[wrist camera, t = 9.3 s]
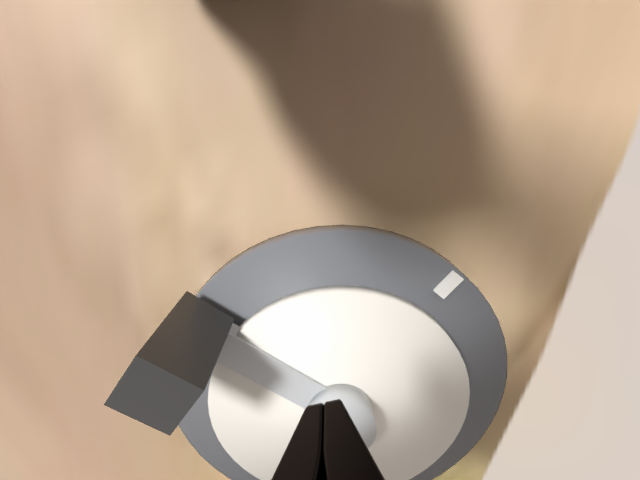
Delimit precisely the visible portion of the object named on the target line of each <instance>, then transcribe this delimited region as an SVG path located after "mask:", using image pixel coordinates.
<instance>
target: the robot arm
mask: <svg viewBox="0 0 640 480" xmlns="http://www.w3.org/2000/svg"><path fill="white" fill-rule="evenodd" d="M271 480H385V479H384V477H383V475H382V473H381V472H380V470H379V468H378V466H377V464H376V462H375V461H374V459H373V457H372V455H371V453H370V451H369V450H368V448H367V446H366V444H365V442H364V440H363V439H362V437H361V435H360V433H359V431H358V429H357V428H356V426H355V424H354V422H353V420H352V419H351V417H350V415H349V413H348V411H347V409H346V408H345V406H344V404H343V402H342V401H341V400H340V399H336V400H331V401H327V402H325V404H323V403H317V404H312V405H308V406H307V407H306V408H305V410H304V412H303V414H302V416H301V419H300V421H299V423H298V425H297V427H296V429H295V431H294V433H293V435H292V437H291V439H290V442H289V444H288V446H287V448H286V450H285V452H284V454H283V456H282V458H281V460H280V463H279V465H278V467H277V469H276V471H275V473H274V475H273V477H272V479H271Z"/></svg>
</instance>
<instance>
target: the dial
mask: <svg viewBox="0 0 640 480" xmlns="http://www.w3.org/2000/svg"><path fill="white" fill-rule="evenodd" d="M233 321H234V318H233V317H231V316H229V315H227V314H226V313H224V312H222V311H220V310H219V309H217V308H215V307H213V306H212V305H210V304H208V303H207V302H205V301H203V300H201V299H200V298H198V297H196V296H194V295H193V294H191V293H189V292H188V291H187V292H186V293H185V294H184V295H183V297H182V298H181V299H180V300H179V302H178V303H177V304H176V306H175V307H174V308H173V309H172V311H171V312H170V313H169V314H168V316H167V317H166V318H165V319H164V321H163V322H162V323H161V324H160V326H159V327H158V328H157V330H156V331H155V332H154V333H153V335H152V336H151V337H150V338H149V340H148V341H147V342H146V343H145V345H144V346H143V347H142V349H141V350H140V351H139V352H138V354H137V355H136V356H135V358H134V359H133V361H132V362H131V364H130V365H129V367H128V368H127V370H126V372H125V373H124V375H123V376H122V378H121V379H120V381H119V382H118V384H117V385H116V387H115V388H114V390H113V391H112V393H111V395H110V396H109V398H108V399H107V401H106V402H105V404H104V405H105V406H108V407H110V408H112V409H114V410H116V411H118V412H120V413H123V414H125V415H127V416H129V417H131V418H133V419H135V420H138V421H140V422H142V423H144V424H146V425H148V426H150V427H153V428H155V429H157V430H159V431H161V432H163V433H165V434H168V435H171V434H172V432H173V431H174V430H175V428H176V427H177V426H178V424H179V423H180V422H181V421H182V419H183V418H184V417H185V415H186V414H187V413H188V411H189V410H190V409H191V408H192V406H193V405H194V404H195V402H196V401H197V400H198V398H199V397H200V396H201V394H202V393H203V392H204V391H205V388H206V386H207V383H208V381H209V379H210V376H211V374H212V376H211V380H210V384H209V391H208V409H209V416H210V420H211V423H212V427H213V429H214V431H215V434H216V436H217V438H218V440H219V441H220V443H221V445H222V446H223V448H224V449H225V451H226V452H227V453H228V454H229V455H230V456H231V457H232V459H233V460H234V461H235V462H236V463H238V464H239V465H240V466H241V467H242V468H243V469H244V470H246V471H247V472H249V473H250V474H252V475H253V476H255V477H256V478H258V479H260V480H271V479H272V477H273V475H274V473H275V471H276V469H277V467H278V465H279V463H280V460H281V458H282V456H283V454H284V452H285V450H286V448H287V446H288V444H289V442H290V439H291V437H292V435H293V433H294V431H295V429H296V427H297V425H298V423H299V421H300V419H301V416H302V414H303V412H304V410H305V408H306V407H307V406H308V405H312V404H317V403H323V404H325V402H327V401H331V400H336V399H340V400H341V401H342V402H343V404H344V406H345V408H346V409H347V411H348V413H349V415H350V417H351V419H352V420H353V422H354V424H355V426H356V428H357V429H358V431H359V433H360V435H361V437H362V439H363V440H364V442H365V444H366V446H367V448H368V450H369V451H370V453H371V455H372V457H373V459H374V461H375V462H376V464H377V466H378V468H379V470H380V472H381V473H382V475H383V477H384V479H385V480H409V479H411V478H413V477H415V476H416V475H418V474H419V473H421V472H423V471H424V470H425V469H427V468H428V467H429V466H431V465H432V464H433V463H434V462H436V461H437V460H438V459H439V458H440V457H441V456H442V455H443V454H444V453H445V452H446V450H447V449H448V448H449V447H450V445H451V444H452V443H453V442H454V440H455V438H456V437H457V435H458V433H459V432H460V430H461V428H462V425H463V423H464V420H465V418H466V414H467V410H468V406H469V396H470V387H469V377H468V374H467V370H466V366H465V363H464V361H463V359H462V357H461V355H460V352H459V351H458V349H457V348H456V346H455V345H454V343H453V342H452V340H451V339H450V337H449V336H448V334H447V333H446V331H445V330H444V328H443V327H442V326H441V325H440V324H439V323H438V322H437V321H436V320H435V319H434V318H433V317H432V316H431V315H429V314H428V313H427V312H426V311H424V310H423V309H422V308H420V307H419V306H417V305H415V304H413V303H412V302H410V301H408V300H406V299H404V298H402V297H399V296H397V295H394V294H392V293H389V292H385V291H382V290H378V289H374V288H368V287H361V286H347V285H334V286H323V287H316V288H311V289H307V290H302V291H298V292H296V293H293V294H290V295H287V296H284V297H282V298H280V299H278V300H275V301H273V302H271V303H269V304H267V305H266V306H264V307H263V308H261V309H260V310H258V311H257V312H255V313H254V314H252V315H251V316H250V317H249V318H248V319H247V320H245V321H244V322H243V323H242V324H241V325H240V326H238V325H236V324H234V323H233ZM216 362H217V363H216ZM215 364H216V366H215ZM214 367H215V368H214ZM213 369H214V370H213ZM212 371H213V373H212Z"/></svg>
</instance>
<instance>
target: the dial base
mask: <svg viewBox="0 0 640 480" xmlns="http://www.w3.org/2000/svg"><path fill="white" fill-rule="evenodd" d="M334 285H347V286H361V287H368V288H374V289H378V290H382V291H385V292H389V293H392V294H394V295H397V296H399V297H402V298H404V299H406V300H408V301H410V302H412V303H413V304H415V305H417V306H419V307H420V308H422V309H423V310H424V311H426V312H427V313H428V314H429V315H431V316H432V317H433V318H434V319H435V320H436V321H437V322H438V323H439V324H440V325H441V326H442V327H443V328H444V330H445V331H446V333H447V334H448V336H449V337H450V339H451V340H452V342H453V343H454V345H455V346H456V348H457V349H458V351H459V352H460V355H461V357H462V359H463V361H464V363H465V366H466V370H467V374H468V377H469V387H470V396H469V406H468V410H467V414H466V418H465V420H464V423H463V425H462V428H461V430H460V432H459V433H458V435H457V437H456V438H455V440H454V442H453V443H452V444H451V445H450V447H449V448H448V449H447V450H446V452H445V453H444V454H443V455H442V456H441V457H440V458H439V459H438V460H437V461H436V462H434V463H433V464H432V465H431V466H429V467H428V468H427V469H425V470H424V471H423V472H421V473H419V474H418V475H416V476H415V477H413V478H411V479H409V480H432V479H434V478H435V477H437V476H439V475H441V474H442V473H443V472H445V471H446V470H448V469H449V468H450V467H452V466H453V465H455V464H456V463H457V462H458V461H459V460H460V459H461V458H463V457H464V456H465V455H466V454H467V453H468V452H469V451H470V450H471V449H472V448H473V447H474V445H475V444H476V443H477V442H478V441H479V440H480V439H481V437H482V436H483V434H484V433H485V431H486V430H487V428H488V427H489V425H490V424H491V422H492V420H493V418H494V416H495V414H496V412H497V410H498V408H499V405H500V402H501V399H502V396H503V393H504V388H505V382H506V377H507V353H506V346H505V340H504V336H503V333H502V330H501V327H500V324H499V321H498V319H497V317H496V315H495V314H494V312H493V310H492V308H491V306H490V304H489V303H488V301H487V300H486V299H485V297H484V296H483V295H482V293H481V292H480V291H479V290H478V288H477V287H476V286H475V285H474V284H473V283H472V282H471V281H470V280H469V279H468V278H467V277H466V276H465V275H464V274H462V273H461V272H460V271H459V270H458V269H457V268H456V267H455V266H454V265H453V264H452V263H451V262H450V261H448V260H447V259H446V258H444V257H443V256H441V255H440V254H438V253H437V252H435V251H434V250H433V249H431V248H429V247H427V246H425V245H423V244H421V243H419V242H417V241H415V240H413V239H411V238H408V237H405V236H402V235H399V234H396V233H393V232H390V231H386V230H381V229H376V228H371V227H365V226H350V225H332V226H316V227H311V228H305V229H300V230H295V231H291V232H288V233H285V234H281V235H278V236H275V237H272V238H269V239H267V240H265V241H263V242H261V243H259V244H257V245H254V246H252V247H250V248H248V249H247V250H245V251H244V252H242V253H241V254H239V255H237V256H236V257H234V258H233V259H231V260H230V261H229V262H227V263H226V264H225V265H224V266H223V267H222V268H220V269H219V270H218V271H217V272H216V273H215V274H214V275H213V276H212V277H211V278H210V279H209V280H208V281H207V283H206V284H205V285H204V286H203V287H202V288H201V289H200V291H199V292H198V293H197V295H196V297H198V298H200V299H201V300H203V301H205V302H207V303H208V304H210V305H212V306H213V307H215V308H217V309H219V310H220V311H222V312H224V313H226V314H227V315H229V316H231V317H233V318H234V321H233V323H234V324H236V325H238V326H240V325H241V324H242V323H243V322H244V321H245V320H247V319H248V318H249V317H250V316H251V315H252V314H254V313H255V312H257V311H258V310H260V309H261V308H263V307H264V306H266V305H267V304H269V303H271V302H273V301H275V300H278V299H280V298H282V297H284V296H287V295H290V294H293V293H296V292H298V291H302V290H307V289H311V288H316V287H323V286H334ZM216 363H217V362H216ZM215 366H216V364H215ZM214 368H215V367H214ZM213 370H214V369H213ZM212 373H213V371H212ZM211 376H212V374H211ZM211 376H210V379H209V381H208V383H207V386H206V388H205V391H204V392H203V393H202V394H201V396H200V397H199V398H198V400H197V401H196V402H195V404H194V405H193V406H192V408H191V409H190V410H189V411H188V413H187V414H186V415H185V417H184V418H183V419H182V421H181V422H180V423H179V427H180V428H181V430H182V432H183V433H184V435H185V436H186V438H187V439H188V441H189V442H190V444H191V445H192V446H193V447H194V448H195V449H196V451H197V452H198V453H199V454H200V455H201V456H202V457H203V458H204V459H205V460H206V461H207V462H208V463H209V464H211V465H212V466H213V467H214V468H215V469H217V470H218V471H220V472H221V473H222V474H224V475H225V476H227V477H228V478H230V479H231V480H260V479H258V478H256V477H255V476H253V475H252V474H250V473H249V472H247V471H246V470H244V469H243V468H242V467H241V466H240V465H239V464H238V463H236V462H235V461H234V460H233V459H232V457H231V456H230V455H229V454H228V453H227V452H226V451H225V449H224V448H223V446H222V445H221V443H220V441H219V440H218V438H217V436H216V434H215V431H214V429H213V427H212V423H211V420H210V416H209V409H208V391H209V384H210V380H211Z"/></svg>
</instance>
